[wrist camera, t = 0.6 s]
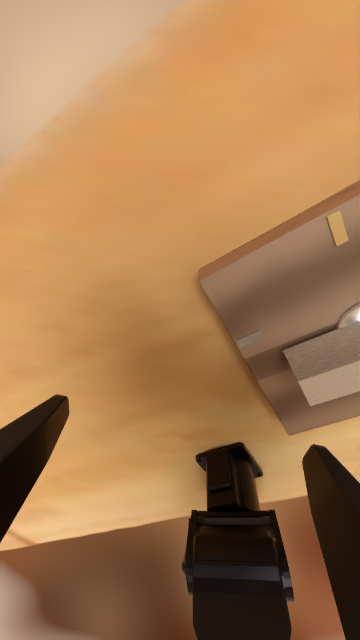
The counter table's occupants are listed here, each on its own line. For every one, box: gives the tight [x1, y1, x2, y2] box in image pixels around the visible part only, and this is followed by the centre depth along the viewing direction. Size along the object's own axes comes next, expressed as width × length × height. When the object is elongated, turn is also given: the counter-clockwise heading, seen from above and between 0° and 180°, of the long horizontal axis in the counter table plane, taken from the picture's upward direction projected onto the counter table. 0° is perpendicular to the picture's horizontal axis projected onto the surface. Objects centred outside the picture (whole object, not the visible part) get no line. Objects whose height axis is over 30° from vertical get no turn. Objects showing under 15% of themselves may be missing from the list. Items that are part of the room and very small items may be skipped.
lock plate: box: [199, 181, 360, 435], centre depth 19 cm, size 18×18×3 cm
